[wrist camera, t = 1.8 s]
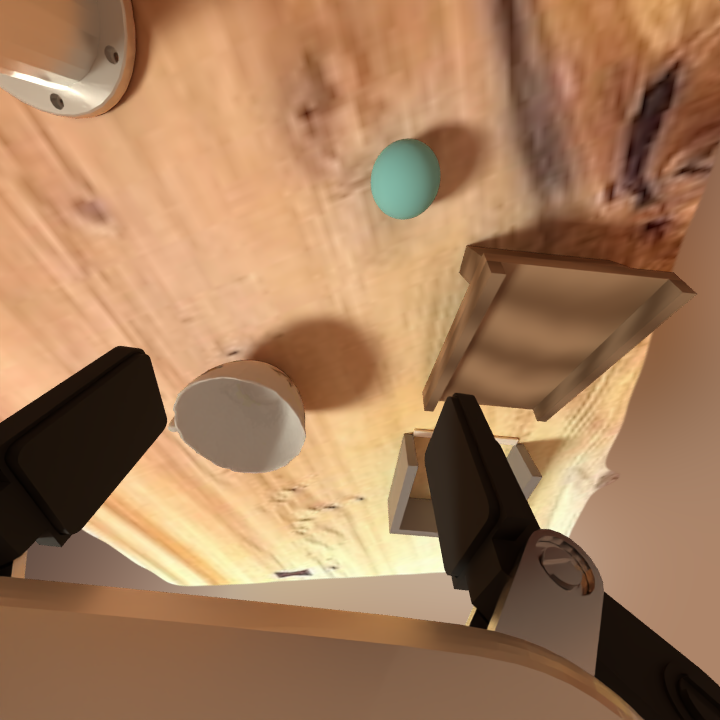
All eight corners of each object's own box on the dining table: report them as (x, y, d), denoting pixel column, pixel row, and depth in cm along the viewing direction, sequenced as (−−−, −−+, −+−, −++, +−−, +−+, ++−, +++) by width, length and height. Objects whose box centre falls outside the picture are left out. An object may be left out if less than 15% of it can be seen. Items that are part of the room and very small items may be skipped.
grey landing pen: (405, 428, 38) (409, 460, 34) (526, 439, 38) (545, 471, 34) (387, 500, 46) (389, 533, 42) (487, 509, 47) (498, 542, 42)
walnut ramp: (462, 238, 26) (495, 260, 19) (618, 255, 26) (705, 282, 19) (421, 397, 35) (433, 449, 28) (535, 407, 35) (574, 461, 29)
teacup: (302, 329, 31) (283, 372, 24) (327, 416, 37) (317, 470, 31) (171, 345, 32) (118, 390, 26) (216, 426, 39) (184, 479, 32)
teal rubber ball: (374, 138, 22) (375, 129, 18) (440, 146, 22) (456, 138, 18) (367, 212, 25) (367, 219, 20) (426, 218, 25) (437, 227, 21)
